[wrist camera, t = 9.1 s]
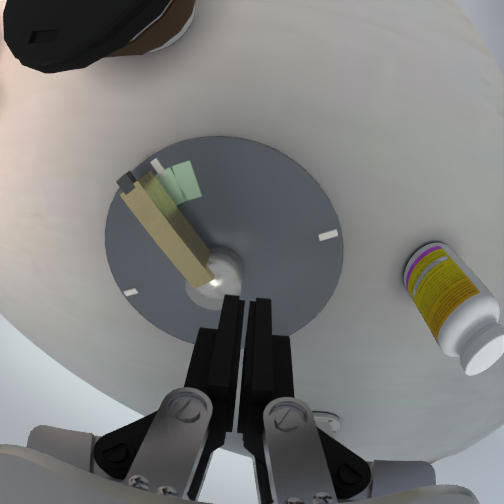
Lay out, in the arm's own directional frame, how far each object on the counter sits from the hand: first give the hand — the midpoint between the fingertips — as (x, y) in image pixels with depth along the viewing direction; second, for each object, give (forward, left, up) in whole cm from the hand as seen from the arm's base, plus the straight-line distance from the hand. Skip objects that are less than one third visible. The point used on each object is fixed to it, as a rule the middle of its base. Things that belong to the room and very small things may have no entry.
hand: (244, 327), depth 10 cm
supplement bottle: (-13, -15, -15) cm, 25 cm away
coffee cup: (+17, +2, -15) cm, 23 cm away
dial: (-5, +5, -15) cm, 16 cm away
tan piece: (0, +6, -13) cm, 14 cm away
